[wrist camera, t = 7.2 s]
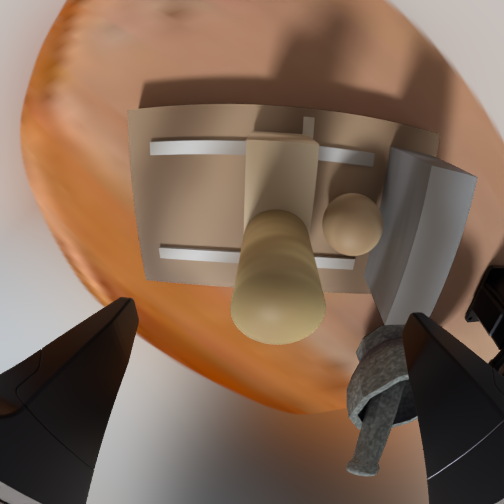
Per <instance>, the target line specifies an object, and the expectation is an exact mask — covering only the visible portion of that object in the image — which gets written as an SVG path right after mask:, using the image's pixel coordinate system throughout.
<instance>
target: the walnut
mask: <svg viewBox="0 0 504 504" xmlns="http://www.w3.org/2000/svg"><path fill="white" fill-rule="evenodd" d="M322 228H323V233H324V236H325V238H326V240H327V242H328V243H329V245H330V246H331V247H332V248H333V249H335V250H336V251H338V252H339V253H341V254H344V255H348V256H358V255H362V254H365V253H367V252H369V251H370V250H372V249H373V248H374V247H375V246H376V245H377V243H378V242H379V240H380V238H381V236H382V232H383V218H382V214H381V212H380V210H379V208H378V206H377V205H376V204H375V203H374V202H373V201H372V200H371V199H370V198H368V197H366V196H364V195H361V194H358V193H347V194H343V195H340V196H338V197H337V198H335V199H334V200H333V201H331V203H330V204H329V205H328V206H327V208H326V210H325V212H324V215H323V219H322Z"/></svg>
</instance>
